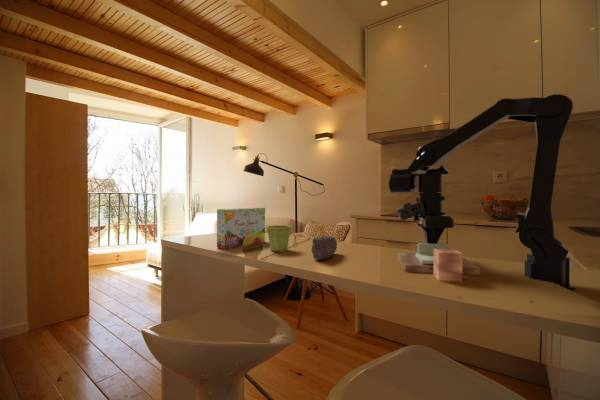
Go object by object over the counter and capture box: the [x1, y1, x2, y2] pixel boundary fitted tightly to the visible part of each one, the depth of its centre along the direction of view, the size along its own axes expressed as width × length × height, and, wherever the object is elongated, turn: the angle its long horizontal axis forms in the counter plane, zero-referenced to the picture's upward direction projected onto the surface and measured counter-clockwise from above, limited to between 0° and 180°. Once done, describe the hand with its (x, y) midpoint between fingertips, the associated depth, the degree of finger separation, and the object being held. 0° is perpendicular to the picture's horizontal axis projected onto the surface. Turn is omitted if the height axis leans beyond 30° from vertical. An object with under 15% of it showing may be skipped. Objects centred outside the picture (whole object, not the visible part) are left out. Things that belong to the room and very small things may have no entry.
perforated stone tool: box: [310, 235, 338, 261], centre depth 90 cm, size 15×5×7 cm, turn 149°
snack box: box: [216, 206, 266, 250], centre depth 115 cm, size 21×6×15 cm, turn 143°
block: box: [433, 248, 463, 283], centre depth 61 cm, size 4×4×7 cm
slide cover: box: [415, 242, 449, 264], centre depth 70 cm, size 8×8×4 cm
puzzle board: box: [396, 252, 481, 276], centre depth 72 cm, size 16×14×3 cm
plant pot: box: [265, 224, 293, 252], centre depth 102 cm, size 9×9×9 cm
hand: (430, 251), depth 75 cm, fingers closed
